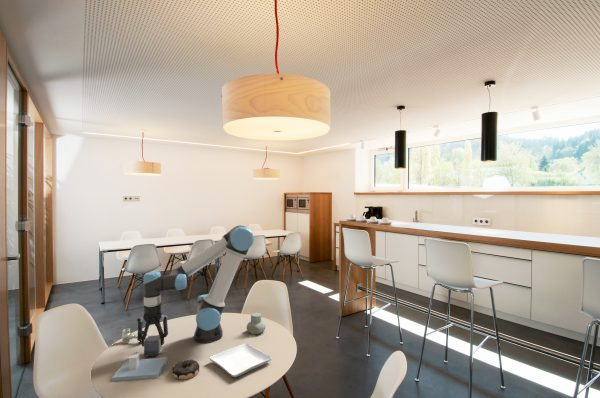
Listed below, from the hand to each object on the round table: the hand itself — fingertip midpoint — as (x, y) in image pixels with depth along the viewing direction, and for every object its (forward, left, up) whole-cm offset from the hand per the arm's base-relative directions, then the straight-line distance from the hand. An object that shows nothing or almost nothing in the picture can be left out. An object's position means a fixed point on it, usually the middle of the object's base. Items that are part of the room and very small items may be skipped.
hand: (153, 351), depth 148 cm
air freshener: (-49, -20, -2) cm, 53 cm away
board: (+1, +14, -1) cm, 14 cm away
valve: (+15, -15, -2) cm, 22 cm away
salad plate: (-42, +14, -2) cm, 45 cm away
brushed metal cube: (0, 0, 0) cm, 0 cm away
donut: (-19, +19, -2) cm, 27 cm away
